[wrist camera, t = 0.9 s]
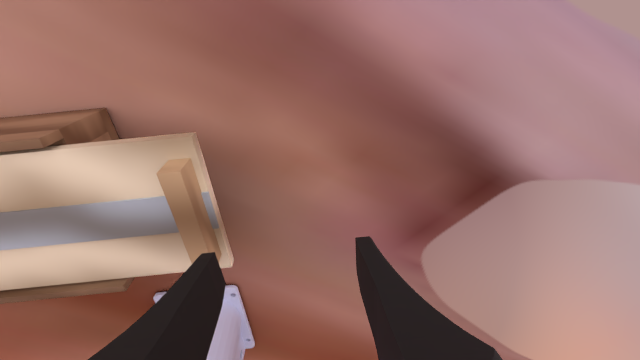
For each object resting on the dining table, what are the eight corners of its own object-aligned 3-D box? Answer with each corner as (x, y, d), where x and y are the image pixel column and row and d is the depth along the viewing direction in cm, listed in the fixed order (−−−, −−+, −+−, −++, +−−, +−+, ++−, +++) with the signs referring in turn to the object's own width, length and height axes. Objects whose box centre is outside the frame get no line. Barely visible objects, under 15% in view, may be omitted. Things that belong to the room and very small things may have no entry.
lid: (234, 259, 21) (226, 285, 19) (5, 282, 21) (-27, 311, 19) (195, 132, 16) (180, 148, 14) (-98, 161, 16) (-154, 181, 14)
